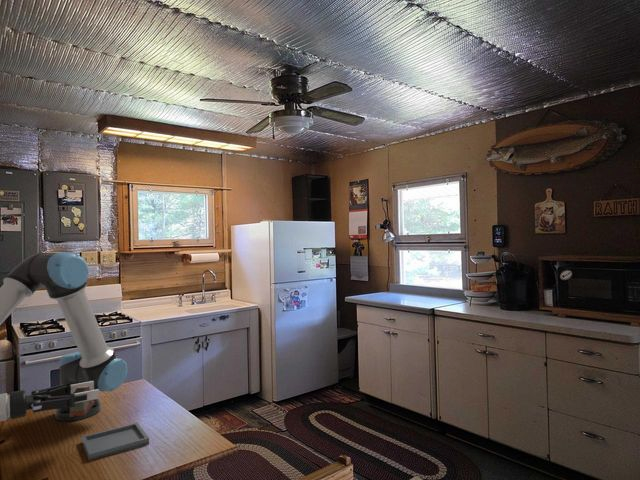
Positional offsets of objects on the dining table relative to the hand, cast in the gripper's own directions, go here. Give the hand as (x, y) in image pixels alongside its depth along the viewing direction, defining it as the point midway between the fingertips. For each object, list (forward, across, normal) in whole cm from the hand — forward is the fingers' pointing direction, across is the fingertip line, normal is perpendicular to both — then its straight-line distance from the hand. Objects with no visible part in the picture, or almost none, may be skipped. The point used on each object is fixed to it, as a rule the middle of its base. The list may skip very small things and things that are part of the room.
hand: (96, 389), depth 137 cm
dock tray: (+5, +2, -18) cm, 19 cm away
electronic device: (-4, 0, -6) cm, 7 cm away
